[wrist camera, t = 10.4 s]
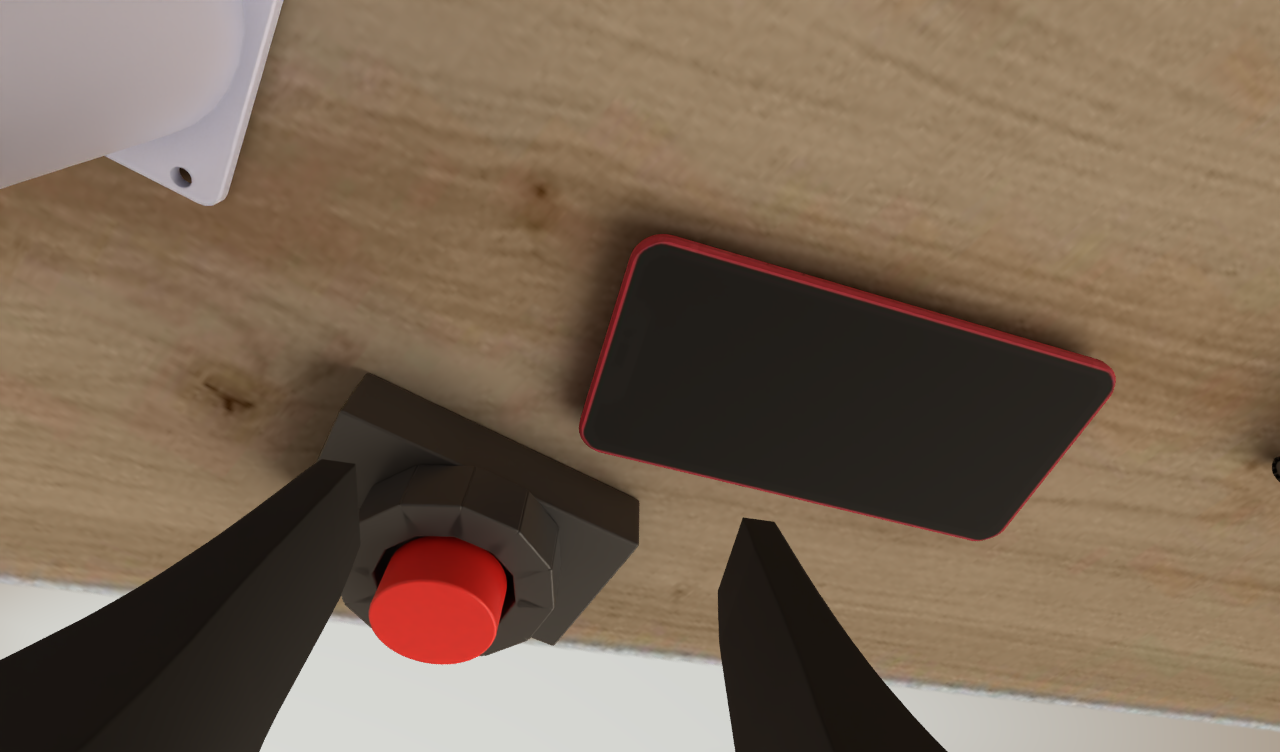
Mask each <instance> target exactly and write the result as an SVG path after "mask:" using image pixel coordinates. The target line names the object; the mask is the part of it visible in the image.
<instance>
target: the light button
mask: <svg viewBox="0 0 1280 752" xmlns="http://www.w3.org/2000/svg"><path fill="white" fill-rule="evenodd" d="M506 590H507V579H506V574H505V572H504V569H503V567H502V566H501V564H500V563H499V561H498V560H497V559H496V558H495V557H494V556H493V555H492V554H491V553H490V552H488V551H487V550H485V549H482V548H480V547H478V546H475V545H473V544H470V543H468V542H466V541H463V540H461V539H458V538H456V537H438V536H425V537H421V538H417V539H414V540H411V541H409V542H407V543H406V544H404V545H403V546H401V547H400V548H399V549H398V550H397V551H396V552H395V553H394V554H393V556H392V557H391V559H390V561H389V564H388V566H387V568H386V570H385V572H384V575H383V577H382V579H381V581H380V584H379V586H378V588H377V590H376V593H375V595H374V597H373V599H372V602H371V604H370V607H369V621H370V625H371V628H372V630H373V631H374V633H375V634H376V636H377V637H378V638H379V639H380V640H381V641H382V642H383V643H384V644H385V645H386V646H387V647H389V648H390V649H392V650H393V651H395V652H397V653H398V654H400V655H402V656H405V657H407V658H410V659H413V660H416V661H420V662H424V663H431V664H456V663H461V662H465V661H468V660H471V659H473V658H476V657H478V656H479V655H481V654H482V653H484V652H485V651H486V650H487V649H488V648H489V647H490V646H491V644H492V643H493V641H494V639H495V637H496V633H497V629H498V625H499V620H500V616H501V612H502V607H503V603H504V599H505V594H506Z"/></svg>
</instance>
